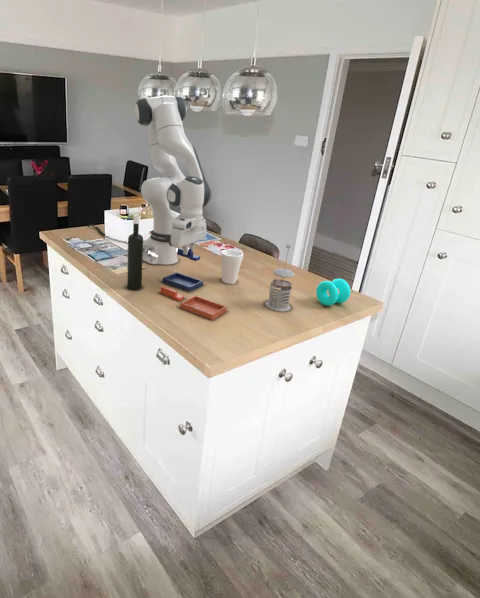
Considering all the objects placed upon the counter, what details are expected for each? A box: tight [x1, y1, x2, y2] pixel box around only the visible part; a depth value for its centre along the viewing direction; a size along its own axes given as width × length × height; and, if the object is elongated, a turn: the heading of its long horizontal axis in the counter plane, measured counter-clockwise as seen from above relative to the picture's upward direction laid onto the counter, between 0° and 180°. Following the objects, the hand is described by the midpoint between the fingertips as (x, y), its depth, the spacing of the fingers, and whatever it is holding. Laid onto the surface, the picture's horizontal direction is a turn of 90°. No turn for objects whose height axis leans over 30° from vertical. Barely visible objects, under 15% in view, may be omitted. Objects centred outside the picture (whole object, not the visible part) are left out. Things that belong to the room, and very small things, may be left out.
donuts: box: [315, 278, 351, 307], centre depth 167 cm, size 10×10×10 cm
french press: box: [265, 243, 296, 312], centre depth 157 cm, size 10×12×25 cm
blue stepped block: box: [177, 247, 201, 262], centre depth 170 cm, size 10×3×3 cm, turn 53°
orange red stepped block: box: [160, 285, 185, 302], centre depth 164 cm, size 10×3×3 cm, turn 53°
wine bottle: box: [126, 213, 144, 291], centre depth 163 cm, size 6×6×30 cm
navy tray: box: [162, 272, 204, 292], centre depth 176 cm, size 14×10×2 cm
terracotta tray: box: [179, 295, 228, 321], centre depth 155 cm, size 14×10×2 cm
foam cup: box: [220, 249, 244, 285], centre depth 181 cm, size 10×9×13 cm
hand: (188, 253), depth 170 cm, fingers closed on blue stepped block
